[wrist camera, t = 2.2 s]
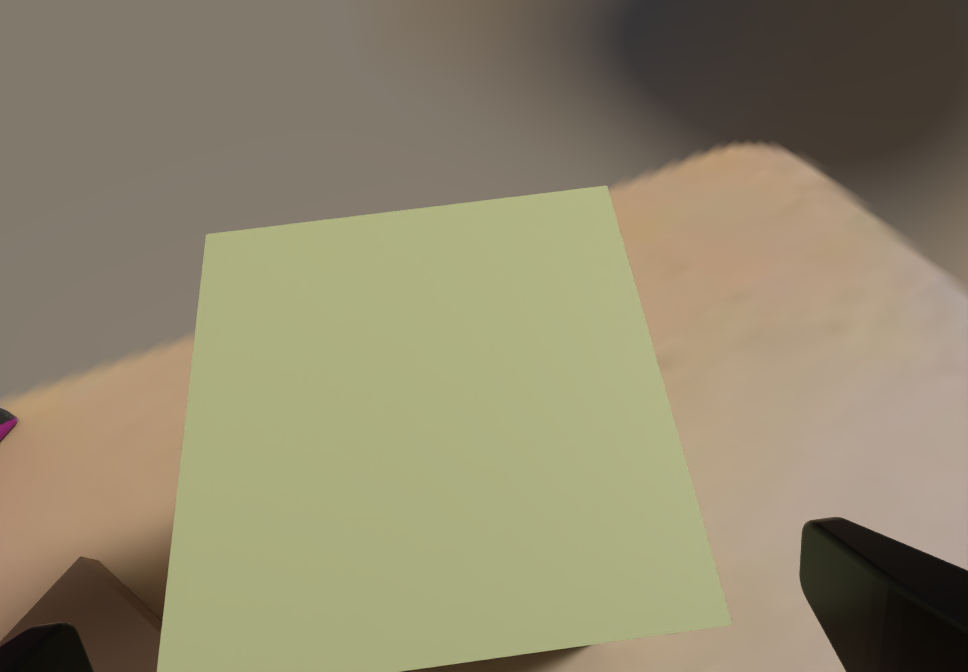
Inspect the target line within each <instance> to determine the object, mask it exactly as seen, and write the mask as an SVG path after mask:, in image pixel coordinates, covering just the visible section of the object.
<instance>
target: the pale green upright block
mask: <svg viewBox="0 0 968 672" xmlns="http://www.w3.org/2000/svg"><path fill="white" fill-rule="evenodd" d="M728 625H732V621H731V618H730V614H729V611H728V607H727V604H726V600H725V597H724V593H723V590H722V586H721V583H720V579H719V576H718V572H717V569H716V565H715V562H714V558H713V555H712V551H711V548H710V544H709V541H708V537H707V534H706V530H705V527H704V523H703V520H702V516H701V513H700V509H699V506H698V502H697V499H696V495H695V492H694V488H693V485H692V481H691V478H690V474H689V471H688V467H687V464H686V460H685V457H684V453H683V450H682V446H681V443H680V439H679V436H678V432H677V429H676V425H675V422H674V418H673V415H672V411H671V408H670V404H669V401H668V397H667V394H666V390H665V387H664V383H663V380H662V376H661V373H660V369H659V366H658V362H657V359H656V355H655V352H654V348H653V345H652V341H651V338H650V334H649V331H648V327H647V324H646V320H645V317H644V313H643V310H642V306H641V303H640V299H639V296H638V292H637V289H636V285H635V282H634V278H633V275H632V271H631V268H630V264H629V261H628V257H627V254H626V250H625V247H624V243H623V240H622V236H621V233H620V229H619V226H618V222H617V219H616V215H615V212H614V208H613V205H612V201H611V198H610V194H609V191H608V187H607V186H600V187H591V188H583V189H575V190H567V191H558V192H550V193H542V194H534V195H526V196H518V197H509V198H501V199H493V200H484V201H476V202H468V203H460V204H452V205H443V206H435V207H427V208H418V209H410V210H402V211H395V212H386V213H377V214H369V215H362V216H353V217H345V218H337V219H328V220H320V221H312V222H303V223H295V224H287V225H279V226H271V227H262V228H254V229H246V230H238V231H229V232H221V233H213V234H206V242H205V250H204V259H203V268H202V277H201V286H200V294H199V303H198V312H197V322H196V330H195V339H194V347H193V356H192V365H191V374H190V383H189V391H188V400H187V409H186V418H185V427H184V436H183V444H182V453H181V462H180V471H179V480H178V488H177V497H176V506H175V515H174V524H173V532H172V541H171V550H170V559H169V568H168V577H167V585H166V594H165V603H164V612H163V621H162V629H161V638H160V647H159V656H158V665H157V672H401V671H408V670H415V669H422V668H429V667H437V666H444V665H451V664H458V663H465V662H472V661H479V660H486V659H493V658H501V657H508V656H515V655H522V654H529V653H536V652H543V651H550V650H557V649H565V648H572V647H579V646H586V645H593V644H600V643H607V642H614V641H621V640H629V639H636V638H643V637H650V636H657V635H664V634H671V633H678V632H685V631H693V630H700V629H707V628H714V627H721V626H728Z"/></svg>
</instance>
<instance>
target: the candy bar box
mask: <svg viewBox="0 0 968 672" xmlns="http://www.w3.org/2000/svg"><path fill="white" fill-rule="evenodd" d="M18 420H19V419H18V418H17V417H16V416H14V415H12V414H11V413H9V412H8V411H6V410H5V409H4V408H2V407H0V440H1V439H2V438H3V437H4V436H5V435H6V434H7V433H8V432H9V431H10V430H11V429H12V427H13V426H14V425H15V424H16V423H17V422H18Z"/></svg>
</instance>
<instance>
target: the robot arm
mask: <svg viewBox="0 0 968 672" xmlns="http://www.w3.org/2000/svg"><path fill="white" fill-rule="evenodd" d="M800 583H801V587H802V590H803V593H804V595H805V597H806V599H807V601H808V603H809V605H810V606H811V608H812V610H813V612H814V614H815V616H816V617H817V619H818V621H819V623H820V625H821V627H822V628H823V630H824V632H825V634H826V636H827V638H828V639H829V641H830V643H831V645H832V647H833V649H834V650H835V652H836V654H837V656H838V658H839V660H840V661H841V663H842V665H843V667H844V669H845V671H846V672H968V570H965V569H963V568H960V567H958V566H956V565H953V564H951V563H949V562H946V561H944V560H941V559H939V558H937V557H934V556H932V555H930V554H927V553H925V552H922V551H920V550H918V549H915V548H913V547H910V546H908V545H906V544H903V543H901V542H899V541H896V540H894V539H891V538H889V537H887V536H884V535H882V534H880V533H877V532H875V531H872V530H870V529H868V528H865V527H863V526H861V525H858V524H856V523H853V522H851V521H849V520H846V519H844V518H840V517H831V518H824V519H816V520H810V521H808V522H807V523H805V525H804V527H803V530H802V539H801V556H800ZM0 672H94V671H93V668H92V665H91V663H90V660H89V658H88V655H87V653H86V650H85V648H84V645H83V643H82V640H81V638H80V635H79V633H78V631H77V629H76V627H75V626H74V625H73V624H71V623H69V622H56V623H49V624H41V625H36V626H33V627H30V628H28V629H26V630H25V631H23V632H22V633H20V634H19V635H17V636H15V637H14V638H12V639H11V640H9V641H8V642H6V643H5V644H3V645H1V646H0Z"/></svg>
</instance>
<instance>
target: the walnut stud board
mask: <svg viewBox="0 0 968 672" xmlns="http://www.w3.org/2000/svg"><path fill="white" fill-rule="evenodd" d="M56 622H69V623H71V624H73V625H74V626H75V627H76V629H77V631H78V633H79V635H80V638H81V640H82V643H83V645H84V648H85V650H86V653H87V655H88V658H89V660H90V663H91V665H92V668H93V671H94V672H157V665H158V656H159V647H160V638H161V629H162V621H161V620H160V619H159V618H158V617H157V616H156V615H155V614H154V613H153V612H152V611H151V610H150V609H149V608H148V607H146V606H145V605H144V604H143V603H142V602H141V601H140V600H139V599H138V598H137V597H136V596H135V595H134V594H133V593H132V592H131V591H130V590H129V589H128V588H127V587H125V586H124V585H123V584H122V583H121V582H120V581H119V580H118V579H117V578H116V577H115V576H114V575H113V574H112V573H111V572H110V571H109V570H108V569H107V568H106V567H104V566H103V565H102V564H101V563H100V562H99V561H98V560H94V559H89V558H85V557H79V558H78V560H77V561H76V562H75V563H74V564H73V565H72V566H71V567H70V568H69V569H68V570H67V571H66V572H65V573H64V574H63V576H62V577H61V578H60V579H59V580H58V581H57V582H56V583H55V584H54V585H53V586H52V587H51V588H50V589H49V590H48V592H47V593H46V594H45V595H44V596H43V597H42V598H41V599H40V600H39V601H38V602H37V603H36V604H35V605H34V606H33V608H32V609H31V610H30V611H29V612H28V613H27V614H26V615H25V616H24V617H23V618H22V619H21V620H20V621H19V622H18V624H17V625H16V626H15V627H14V628H13V629H12V630H11V631H10V632H9V633H8V634H7V635H6V636H5V637H4V638H3V640H2V641H1V642H0V646H1V645H3V644H5V643H6V642H8V641H9V640H11V639H12V638H14V637H15V636H17V635H19V634H20V633H22V632H23V631H25V630H26V629H28V628H30V627H33V626H36V625H41V624H49V623H56Z"/></svg>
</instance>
